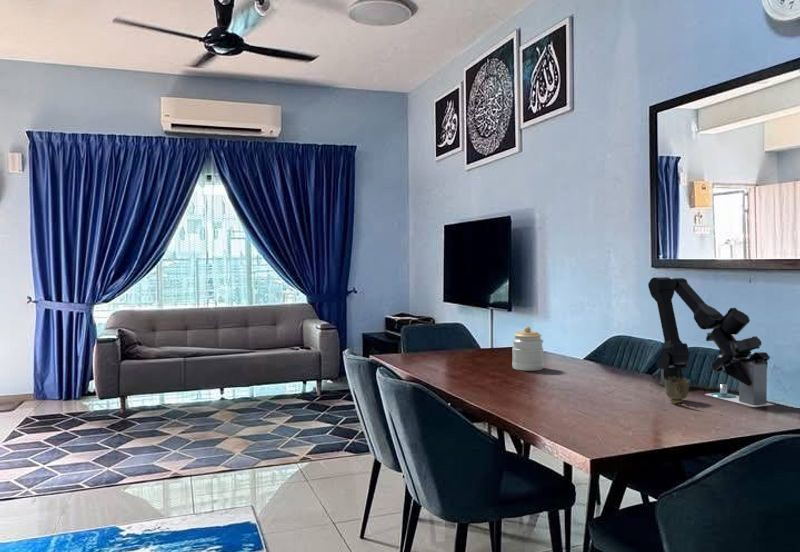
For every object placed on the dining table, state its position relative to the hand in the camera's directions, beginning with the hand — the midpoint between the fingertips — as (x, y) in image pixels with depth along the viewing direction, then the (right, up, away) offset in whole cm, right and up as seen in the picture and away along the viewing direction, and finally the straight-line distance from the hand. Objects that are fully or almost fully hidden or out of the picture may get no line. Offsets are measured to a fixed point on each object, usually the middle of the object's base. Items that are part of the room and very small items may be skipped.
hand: (756, 384), depth 188 cm
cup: (-22, -7, +6) cm, 24 cm away
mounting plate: (-2, -7, +7) cm, 10 cm away
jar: (-55, -6, +72) cm, 91 cm away
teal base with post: (-4, -7, +12) cm, 14 cm away
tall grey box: (0, -6, +2) cm, 6 cm away
